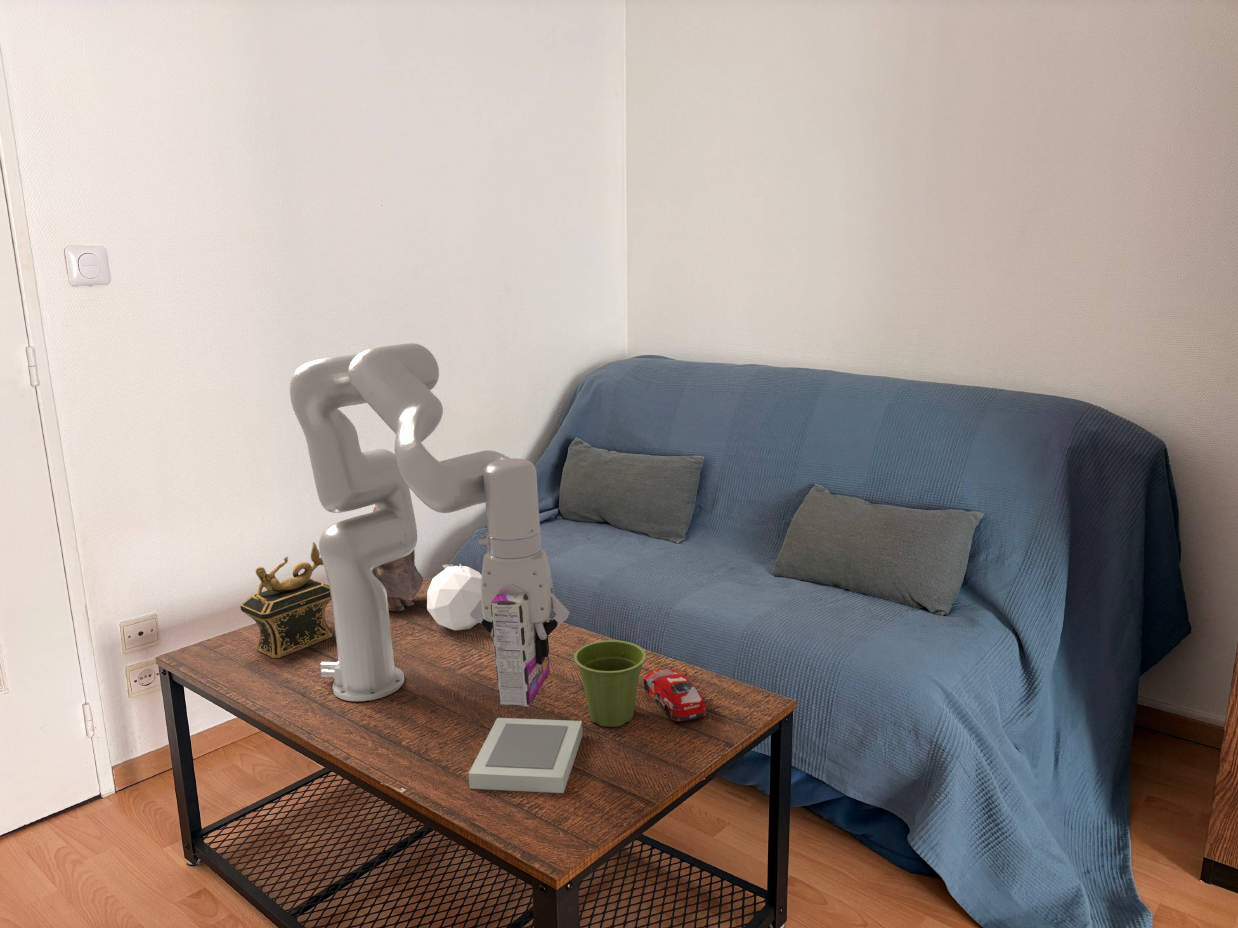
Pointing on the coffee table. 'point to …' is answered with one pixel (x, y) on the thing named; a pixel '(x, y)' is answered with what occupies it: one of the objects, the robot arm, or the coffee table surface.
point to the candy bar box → (516, 651)
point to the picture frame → (527, 755)
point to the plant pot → (610, 679)
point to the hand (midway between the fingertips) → (522, 658)
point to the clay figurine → (399, 581)
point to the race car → (675, 694)
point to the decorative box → (290, 609)
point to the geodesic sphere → (454, 596)
